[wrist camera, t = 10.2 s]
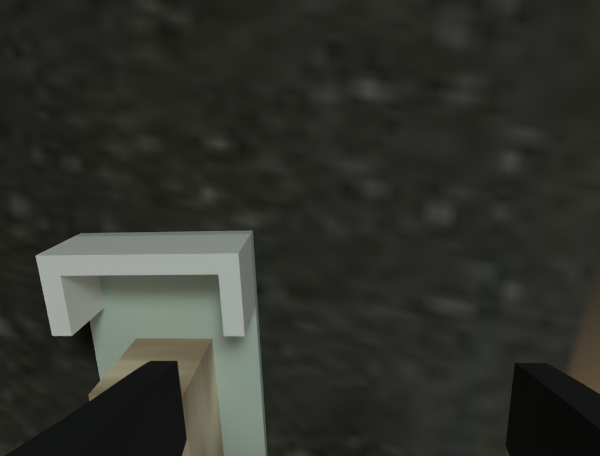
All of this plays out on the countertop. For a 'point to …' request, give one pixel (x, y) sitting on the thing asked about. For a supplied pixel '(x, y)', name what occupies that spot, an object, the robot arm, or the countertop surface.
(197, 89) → the countertop surface
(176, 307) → the endcap rail
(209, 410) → the tan rectangular block
